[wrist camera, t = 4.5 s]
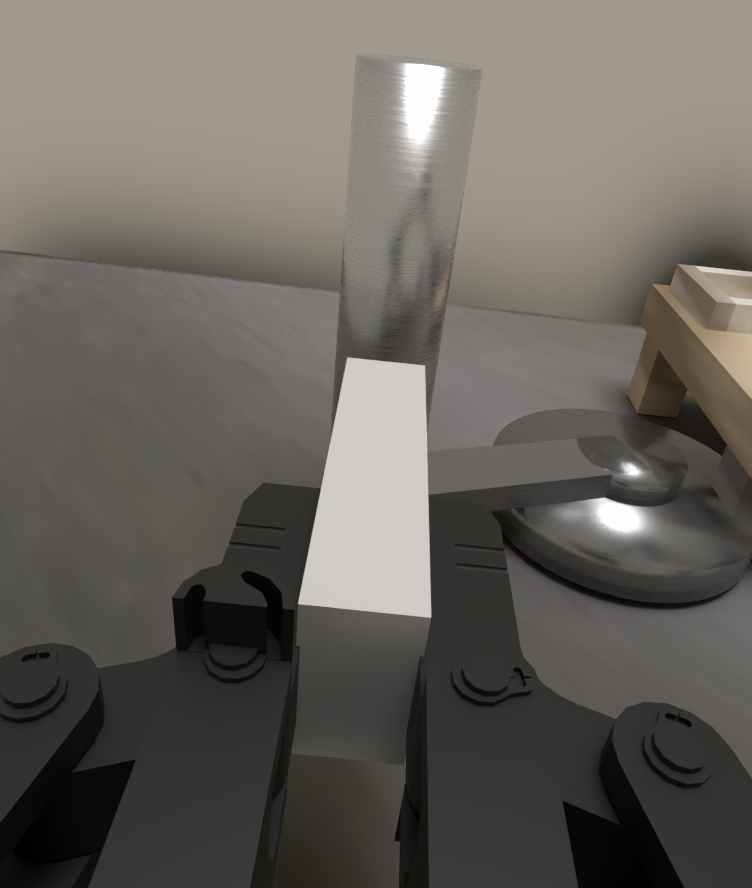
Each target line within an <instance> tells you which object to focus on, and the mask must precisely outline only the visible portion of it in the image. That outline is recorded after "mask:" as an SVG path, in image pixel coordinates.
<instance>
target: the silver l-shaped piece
mask: <svg viewBox="0 0 752 888" xmlns="http://www.w3.org/2000/svg"><path fill="white" fill-rule="evenodd" d="M482 70H483V69H482V68H480V67H476V66H472V65H466V64H460V63H453V62H447V61H439V60H430V59H422V58H413V57H402V56H391V55H376V54H375V55H374V54H358V55H356V64H355V78H354V93H353V108H352V123H351V138H350V153H349V168H348V184H347V197H346V212H345V227H344V241H343V256H342V271H341V287H340V301H339V315H338V330H337V345H336V360H335V375H334V390H333V404H332V419H331V434H330V442H331V437H332V432H333V427H334V422H335V417H336V412H337V407H338V402H339V397H340V392H341V387H342V382H343V377H344V372H345V367H346V362H347V357H349V358H358V359H368V360H377V361H387V362H396V363H406V364H415V365H424V366H425V383H426V423H427V430H428V423H429V417H430V410H431V403H432V397H433V390H434V384H435V377H436V371H437V364H438V358H439V351H440V345H441V338H442V331H443V325H444V318H445V312H446V305H447V299H448V292H449V285H450V279H451V272H452V266H453V259H454V253H455V246H456V239H457V233H458V227H459V220H460V214H461V207H462V201H463V194H464V187H465V181H466V174H467V168H468V161H469V154H470V148H471V141H472V135H473V128H474V122H475V115H476V109H477V102H478V96H479V89H480V83H481V76H482ZM721 458H722V456H721V455H720V454H718V453H717V452H715V451H713V450H712V449H710V448H709V447H707V446H705V445H703V444H702V443H700V442H698V441H696V440H694V439H692V438H690V437H688V436H686V435H684V434H681V433H679V432H677V431H674V430H672V429H669V428H667V427H664V426H662V425H659V424H656V423H653V422H649V421H646V420H643V419H639V418H635V417H632V416H627V415H622V414H618V413H612V412H606V411H599V410H588V409H556V410H548V411H542V412H537V413H533V414H530V415H527V416H523V417H521V418H519V419H517V420H515V421H513V422H511V423H510V424H508V425H507V426H506V427H505V428H504V429H503V430H502V431H501V432H500V433H499V434H498V436H497V437H496V439H495V441H494V444H493V446H488V447H477V448H466V449H455V450H444V451H433V452H427V464H428V498H436V499H445V500H455V501H465V502H474V503H484V504H485V505H486V507H487V508H488V509H489V511H490V512H491V513H492V515H493V516H494V517H495V519H496V520H497V521H498V523H499V524H500V526H501V531H502V533H503V534H504V535H505V536H506V537H507V538H508V539H509V540H510V541H511V542H512V543H513V544H514V545H515V546H516V547H517V548H518V549H519V550H521V551H522V552H523V553H524V554H526V555H527V556H528V557H529V558H531V559H532V560H534V561H535V562H537V563H538V564H540V565H542V566H543V567H545V568H546V569H548V570H550V571H552V572H554V573H555V574H557V575H559V576H561V577H563V578H565V579H567V580H570V581H572V582H574V583H576V584H579V585H581V586H584V587H587V588H590V589H592V590H595V591H598V592H601V593H605V594H608V595H612V596H616V597H620V598H625V599H630V600H636V601H642V602H653V603H684V602H693V601H699V600H703V599H707V598H711V597H713V596H716V595H718V594H720V593H723V592H725V591H726V590H728V589H729V588H731V587H732V586H734V585H735V584H736V583H737V582H738V581H739V580H740V579H741V578H742V576H743V574H744V573H745V571H746V569H747V567H748V565H749V563H750V561H751V559H752V519H745V518H736V517H731V516H730V514H729V512H728V511H727V509H726V508H725V506H724V504H723V503H722V501H721V500H720V498H719V496H718V495H717V493H716V491H715V490H714V488H713V487H712V485H711V482H712V479H713V477H714V475H715V472H716V470H717V468H718V465H719V463H720V461H721Z"/></svg>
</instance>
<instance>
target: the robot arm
mask: <svg viewBox="0 0 752 888" xmlns="http://www.w3.org/2000/svg"><path fill="white" fill-rule="evenodd" d="M172 602H173V614H174V625H175V637H176V647H175V648H174V649H172V650H170V651H168V652H166V653H164V654H161V655H159V656H157V657H154V658H150V659H146V660H142V661H138V662H132V663H126V664H120V665H114V666H108V667H102V668H97V667H96V665H95V664H94V662H93V660H92V659H91V657H90V656H89V655H88V654H86V653H84V652H82V651H81V650H79V649H77V648H75V647H74V646H68V645H61V644H54V643H48V644H41V645H35V646H28V647H24V648H22V649H19V650H17V651H15V652H12V653H10V654H8V655H5V656H3V657H1V658H0V888H272V883H273V877H274V871H275V865H276V858H277V852H278V846H279V840H280V834H281V828H282V822H283V815H284V809H285V803H286V797H287V775H288V767H289V761H290V755H291V753H292V754H302V755H312V756H322V757H332V758H342V759H351V760H361V761H371V762H381V763H391V764H401V765H404V761H405V756H406V783H405V789H404V794H403V799H402V804H401V809H400V814H399V819H398V825H397V830H396V835H395V840H394V841H400V868H399V888H752V779H751V777H750V776H749V774H748V773H747V771H746V770H745V768H744V767H743V765H742V764H741V762H740V761H739V759H738V758H737V756H736V755H735V753H734V752H733V750H732V749H731V747H730V746H729V745H728V744H727V743H726V742H725V741H724V740H723V739H722V737H721V736H720V735H719V734H718V733H717V732H716V731H715V730H714V728H713V727H711V726H710V725H708V724H707V723H705V722H704V721H702V720H701V719H699V718H698V717H697V716H695V715H694V714H692V713H691V712H688V711H686V710H683V709H680V708H677V707H675V706H672V705H669V704H667V703H653V702H642V703H639V704H636V705H633V706H630V707H627V708H626V709H625V710H624V711H623V712H622V713H621V714H620V716H619V717H618V718H617V719H614V718H612V717H609V716H606V715H604V714H601V713H599V712H596V711H593V710H591V709H588V708H585V707H583V706H580V705H578V704H575V703H573V702H571V701H569V700H567V699H565V698H563V697H561V696H559V695H558V694H556V693H555V692H553V691H552V690H551V689H549V688H548V687H546V686H545V685H544V684H543V683H542V682H541V681H540V680H539V679H538V677H537V675H536V672H535V670H534V668H533V667H532V666H531V665H530V664H529V663H528V662H527V661H526V660H525V659H524V657H523V654H522V650H521V647H520V642H519V636H518V630H517V624H516V618H515V612H514V605H513V599H512V593H511V587H510V581H509V575H508V573H507V563H506V557H505V553H504V544H503V538H502V532H501V526H500V524H499V523H498V521H497V520H496V519H495V517H494V516H493V515H492V513H491V512H490V511H489V509H488V508H487V507H486V505H485V504H484V503H474V502H465V501H455V500H445V499H436V498H428V464H427V423H426V383H425V366H424V365H415V364H406V363H396V362H387V361H377V360H368V359H358V358H349V357H347V362H346V367H345V372H344V377H343V382H342V387H341V392H340V397H339V402H338V407H337V412H336V417H335V422H334V427H333V432H332V437H331V442H330V447H329V452H328V457H327V462H326V467H325V472H324V477H323V482H322V487H321V489H319V488H310V487H300V486H290V485H281V484H271V483H263V484H262V485H261V486H260V487H259V488H257V489H256V490H255V491H254V492H253V493H252V494H251V495H250V496H249V497H248V498H246V499H245V500H244V502H243V505H242V508H241V511H240V514H239V516H238V519H237V522H236V528H234V531H233V533H232V536H231V539H230V543H229V547H228V548H227V550H226V553H225V556H224V559H223V562H222V564H219V565H216V566H213V567H209V568H206V569H203V570H200V571H199V572H197V573H196V574H194V575H193V576H191V577H190V578H188V579H187V580H185V581H184V582H183V583H182V584H181V586H180V587H179V589H178V590H177V591H176V593H175V594H174V596H173V597H172Z"/></svg>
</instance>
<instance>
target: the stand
mask: <svg viewBox="0 0 752 888" xmlns="http://www.w3.org/2000/svg"><path fill="white" fill-rule="evenodd" d="M640 324H641V325H642V327H643V328H644V329H645V331H646V332H647V334H646V338H645V341H644V344H643V347H642V350H641V353H640V356H639V359H638V363H637V366H636V369H635V372H634V375H633V378H632V381H631V384H630V388H629V391H628V394H627V396H628V398H629V399H630V401H631V403H632V405H633V407H634V408H635V410H636V412H637V414H646V415H655V416H665V417H674V418H677V416H678V413H679V411H680V408H681V405H682V402H683V400H684V397H685V394H686V392H687V389H688V391H689V392H690V394H691V395H692V396H693V398H694V399H695V401H696V402H697V403H698V405H699V406H700V408H701V409H702V410H703V412H704V413H705V415H706V416H707V417H708V419H709V420H710V422H711V423H712V424H713V426H714V427H715V429H716V430H717V431H718V433H719V434H720V436H721V437H722V438H723V440H724V441H725V442H726V444H727V446H726V449H725V451H724V453H723V456H722V458H721V461H720V463H719V465H718V468H717V470H716V472H715V475H714V477H713V479H712V482H711V485H712V487H713V488H714V490H715V491H716V493H717V495H718V496H719V498H720V500H721V501H722V503H723V504H724V506H725V508H726V509H727V511H728V512H729V514H730V516H731V517H736V518H745V519H752V272H747V271H737V270H727V269H719V268H709V267H700V266H691V265H681V264H678V265H677V268H676V271H675V274H674V277H673V280H672V283H671V286H667V285H658V284H652V285H651V289H650V292H649V295H648V298H647V301H646V305H645V308H644V311H643V314H642V318H641V321H640Z"/></svg>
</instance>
